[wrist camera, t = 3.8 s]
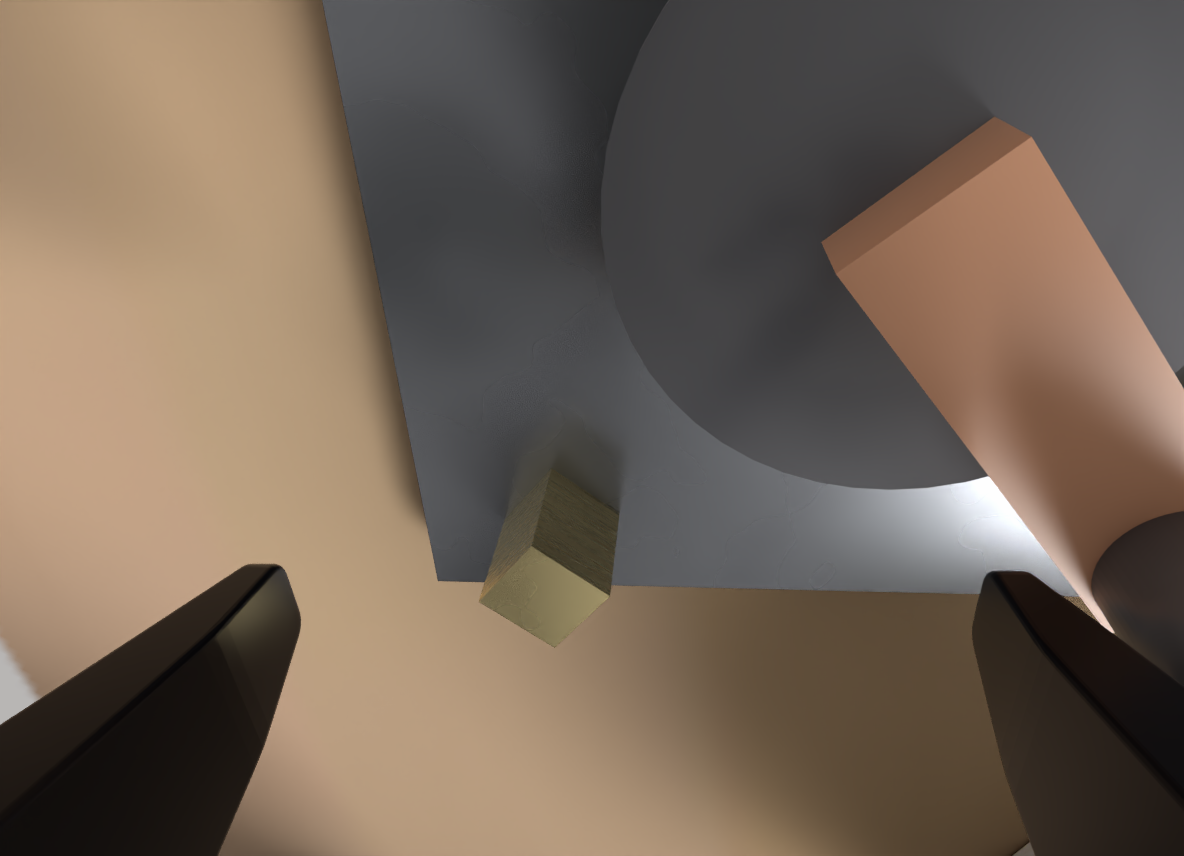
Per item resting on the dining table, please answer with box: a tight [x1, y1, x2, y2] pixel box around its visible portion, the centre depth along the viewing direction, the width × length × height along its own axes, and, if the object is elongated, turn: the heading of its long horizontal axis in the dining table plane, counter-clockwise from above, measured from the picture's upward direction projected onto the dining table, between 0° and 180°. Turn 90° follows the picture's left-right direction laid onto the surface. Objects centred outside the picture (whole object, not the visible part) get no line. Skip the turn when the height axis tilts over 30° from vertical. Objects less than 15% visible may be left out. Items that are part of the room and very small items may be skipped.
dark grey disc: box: [601, 0, 1184, 685], centre depth 8 cm, size 9×7×5 cm
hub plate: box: [322, 0, 1184, 648], centre depth 10 cm, size 14×14×3 cm
